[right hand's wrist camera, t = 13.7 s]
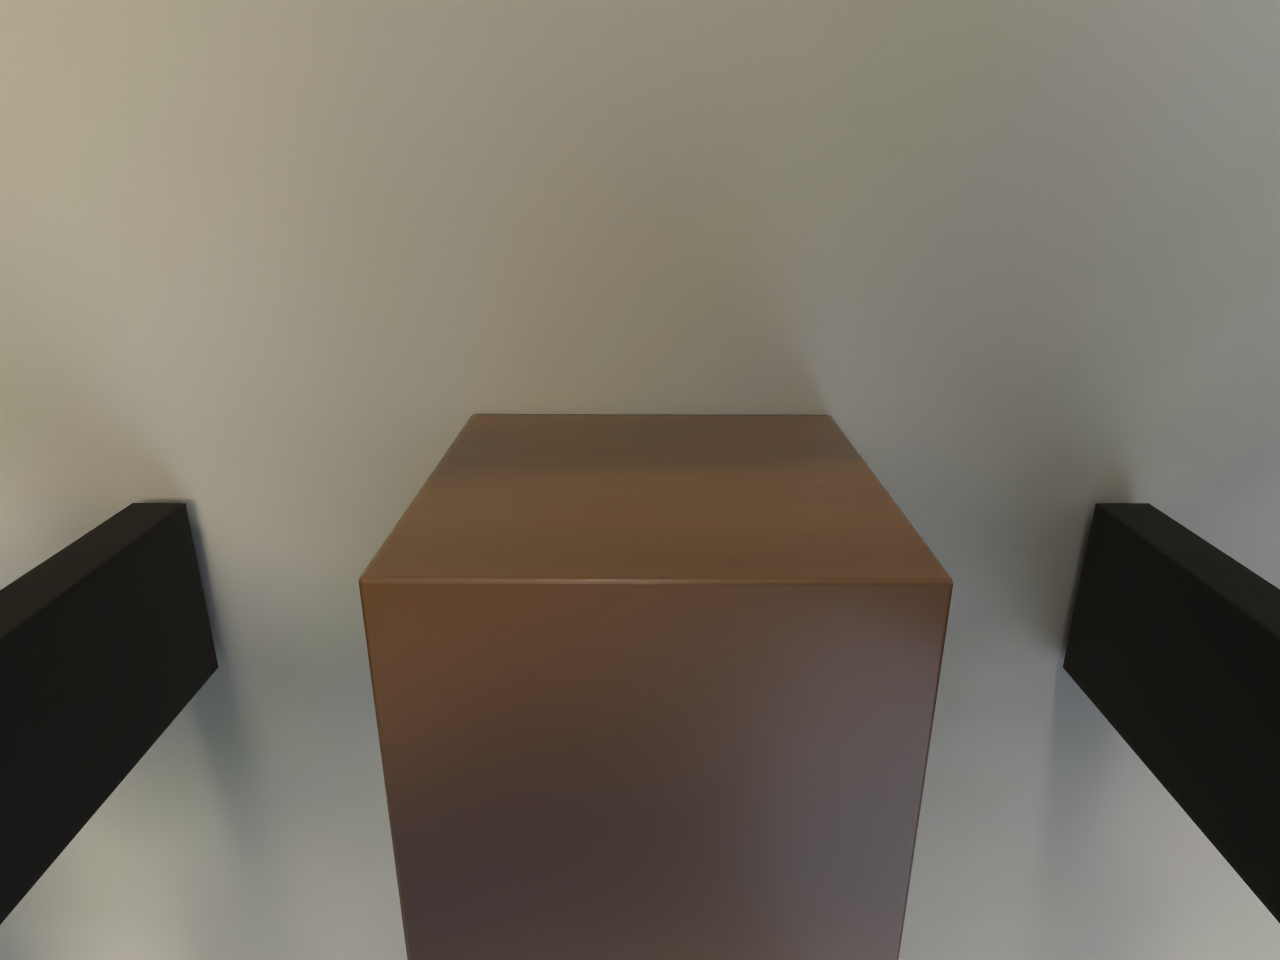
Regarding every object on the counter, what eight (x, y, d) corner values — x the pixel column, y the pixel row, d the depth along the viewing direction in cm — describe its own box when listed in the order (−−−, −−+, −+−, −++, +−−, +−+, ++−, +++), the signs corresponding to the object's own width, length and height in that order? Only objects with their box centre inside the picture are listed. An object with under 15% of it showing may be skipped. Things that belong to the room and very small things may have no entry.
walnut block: (470, 413, 12) (355, 578, 7) (831, 414, 12) (956, 579, 7) (492, 716, 13) (412, 1008, 9) (806, 716, 13) (892, 1011, 9)
